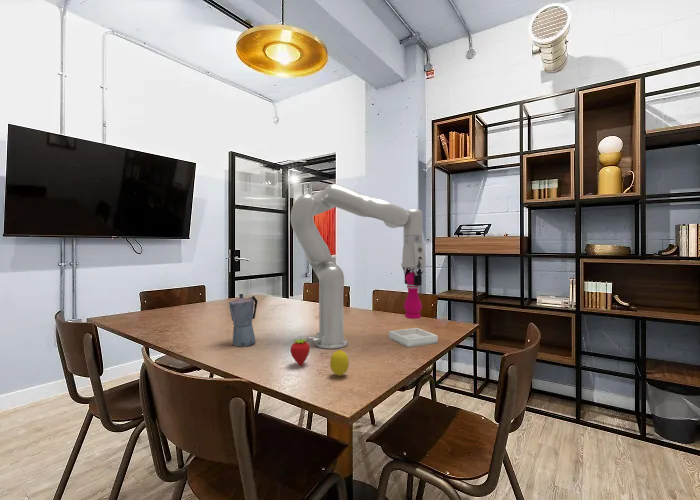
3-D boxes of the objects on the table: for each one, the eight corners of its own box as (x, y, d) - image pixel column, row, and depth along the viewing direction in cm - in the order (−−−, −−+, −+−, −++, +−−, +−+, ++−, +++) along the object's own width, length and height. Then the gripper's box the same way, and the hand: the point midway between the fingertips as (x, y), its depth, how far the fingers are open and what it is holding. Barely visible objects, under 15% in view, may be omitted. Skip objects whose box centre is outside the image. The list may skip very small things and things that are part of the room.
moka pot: (220, 347, 136) (220, 295, 136) (246, 337, 150) (246, 290, 150) (241, 350, 132) (240, 296, 132) (265, 339, 147) (265, 291, 146)
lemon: (330, 373, 109) (329, 347, 109) (348, 372, 109) (347, 346, 109) (330, 380, 103) (330, 352, 103) (349, 379, 104) (349, 352, 104)
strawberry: (286, 368, 113) (286, 337, 113) (297, 360, 120) (297, 331, 120) (303, 370, 111) (302, 338, 111) (313, 362, 118) (313, 333, 118)
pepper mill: (421, 319, 140) (421, 269, 140) (403, 318, 142) (403, 268, 141) (422, 315, 147) (422, 267, 147) (404, 315, 149) (404, 267, 148)
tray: (407, 347, 135) (407, 339, 135) (389, 338, 148) (389, 331, 148) (437, 342, 141) (437, 335, 141) (416, 334, 154) (417, 327, 154)
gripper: (433, 239, 138) (433, 286, 138) (408, 240, 153) (408, 282, 154) (417, 240, 134) (417, 287, 135) (393, 240, 150) (393, 282, 151)
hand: (412, 284), depth 144 cm, fingers closed on pepper mill, 5 cm apart
